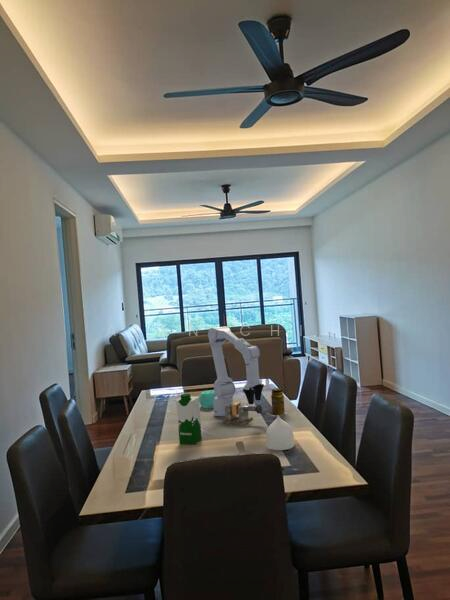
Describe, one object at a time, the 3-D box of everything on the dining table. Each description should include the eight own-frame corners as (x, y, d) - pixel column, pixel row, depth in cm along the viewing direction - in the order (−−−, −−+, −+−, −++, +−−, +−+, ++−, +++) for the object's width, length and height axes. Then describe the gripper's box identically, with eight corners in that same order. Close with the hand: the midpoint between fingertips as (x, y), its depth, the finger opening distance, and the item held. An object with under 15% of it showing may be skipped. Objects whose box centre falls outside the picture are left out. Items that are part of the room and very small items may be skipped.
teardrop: (275, 438, 178) (273, 409, 177) (299, 443, 171) (297, 412, 170) (260, 447, 169) (258, 416, 169) (284, 452, 162) (282, 420, 162)
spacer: (232, 415, 204) (231, 404, 204) (237, 412, 209) (236, 401, 209) (236, 415, 203) (235, 404, 203) (241, 412, 208) (240, 402, 207)
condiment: (288, 413, 214) (286, 389, 214) (275, 417, 209) (273, 392, 209) (278, 410, 220) (277, 387, 220) (265, 414, 215) (264, 389, 215)
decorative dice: (210, 409, 232) (209, 394, 232) (199, 407, 237) (198, 392, 237) (220, 405, 238) (219, 390, 238) (208, 404, 243) (207, 389, 243)
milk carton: (176, 444, 179) (173, 395, 179) (185, 437, 187) (182, 390, 187) (196, 445, 176) (192, 396, 176) (204, 438, 184) (201, 391, 184)
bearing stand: (223, 423, 204) (222, 407, 204) (233, 417, 213) (232, 402, 213) (243, 425, 199) (242, 408, 199) (252, 419, 207) (251, 403, 207)
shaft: (229, 412, 205) (229, 404, 205) (233, 410, 209) (233, 402, 209) (258, 414, 198) (257, 406, 198) (261, 412, 202) (261, 404, 202)
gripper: (253, 375, 193) (255, 406, 193) (266, 370, 205) (268, 398, 205) (239, 375, 196) (241, 405, 196) (253, 369, 209) (255, 398, 209)
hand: (254, 402), depth 201 cm, fingers open, 7 cm apart
